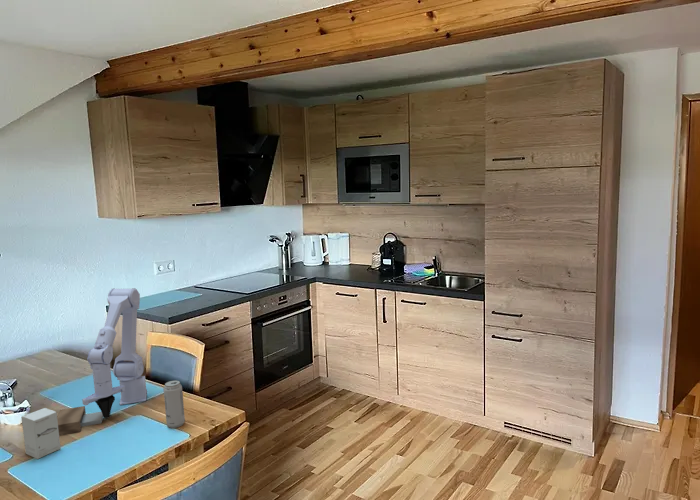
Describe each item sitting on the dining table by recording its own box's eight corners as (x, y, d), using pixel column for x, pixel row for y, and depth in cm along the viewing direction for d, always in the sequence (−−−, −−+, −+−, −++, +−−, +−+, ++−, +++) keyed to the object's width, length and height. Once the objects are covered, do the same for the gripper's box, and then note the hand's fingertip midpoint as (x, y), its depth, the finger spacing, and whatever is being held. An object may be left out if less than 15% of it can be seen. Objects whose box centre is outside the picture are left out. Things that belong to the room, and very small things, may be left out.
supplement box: (37, 459, 158) (32, 420, 156) (25, 454, 162) (20, 416, 160) (61, 449, 164) (57, 411, 162) (49, 443, 168) (44, 406, 166)
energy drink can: (166, 422, 179) (162, 381, 178) (184, 419, 182) (180, 378, 180) (167, 430, 174) (163, 387, 172) (185, 426, 176) (182, 384, 174)
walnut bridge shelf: (85, 415, 188) (84, 405, 188) (80, 431, 175) (78, 421, 175) (61, 419, 185) (60, 409, 185) (53, 436, 173) (52, 426, 172)
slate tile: (104, 415, 188) (103, 411, 188) (101, 424, 181) (101, 419, 181) (67, 422, 184) (66, 417, 184) (63, 431, 177) (62, 426, 177)
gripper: (116, 372, 191) (119, 406, 192) (76, 385, 179) (80, 422, 181) (126, 375, 186) (130, 411, 188) (86, 389, 175) (90, 427, 177)
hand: (106, 416), depth 184 cm, fingers closed
